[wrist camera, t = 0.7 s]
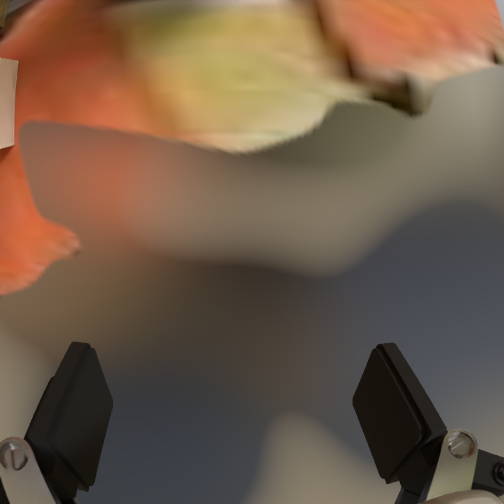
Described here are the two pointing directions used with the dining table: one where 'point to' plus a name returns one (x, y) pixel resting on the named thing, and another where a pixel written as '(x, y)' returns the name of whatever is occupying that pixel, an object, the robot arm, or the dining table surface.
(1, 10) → the tan wooden block
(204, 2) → the dining table surface
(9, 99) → the box
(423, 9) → the dining table surface
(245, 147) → the dining table surface
